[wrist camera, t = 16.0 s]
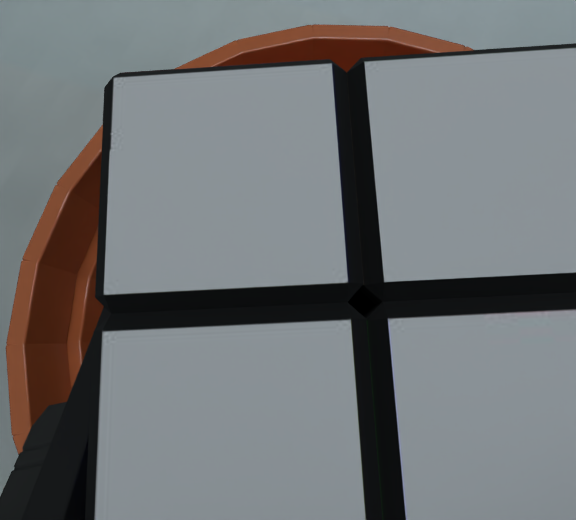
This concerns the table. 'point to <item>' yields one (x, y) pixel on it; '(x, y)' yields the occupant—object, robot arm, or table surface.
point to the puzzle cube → (338, 291)
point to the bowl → (85, 214)
